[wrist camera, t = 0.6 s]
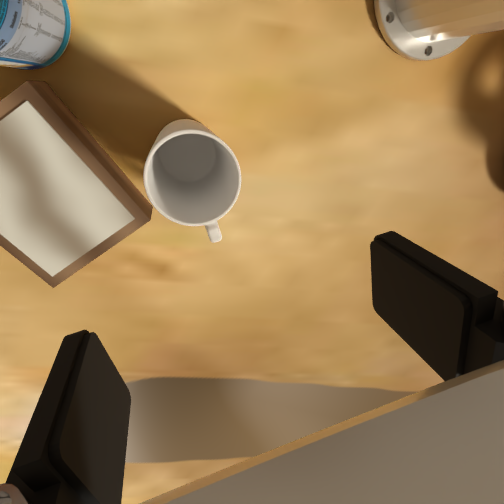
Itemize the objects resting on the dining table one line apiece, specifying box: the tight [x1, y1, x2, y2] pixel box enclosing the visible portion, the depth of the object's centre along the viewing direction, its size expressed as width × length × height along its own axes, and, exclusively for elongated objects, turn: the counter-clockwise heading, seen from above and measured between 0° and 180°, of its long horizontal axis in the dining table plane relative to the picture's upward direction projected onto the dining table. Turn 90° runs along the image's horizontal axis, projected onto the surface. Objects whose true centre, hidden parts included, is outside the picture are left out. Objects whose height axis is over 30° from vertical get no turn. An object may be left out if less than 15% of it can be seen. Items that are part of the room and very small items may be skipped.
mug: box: [143, 119, 241, 243], centre depth 29 cm, size 10×7×12 cm, turn 15°
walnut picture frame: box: [0, 81, 153, 288], centre depth 30 cm, size 12×14×4 cm
